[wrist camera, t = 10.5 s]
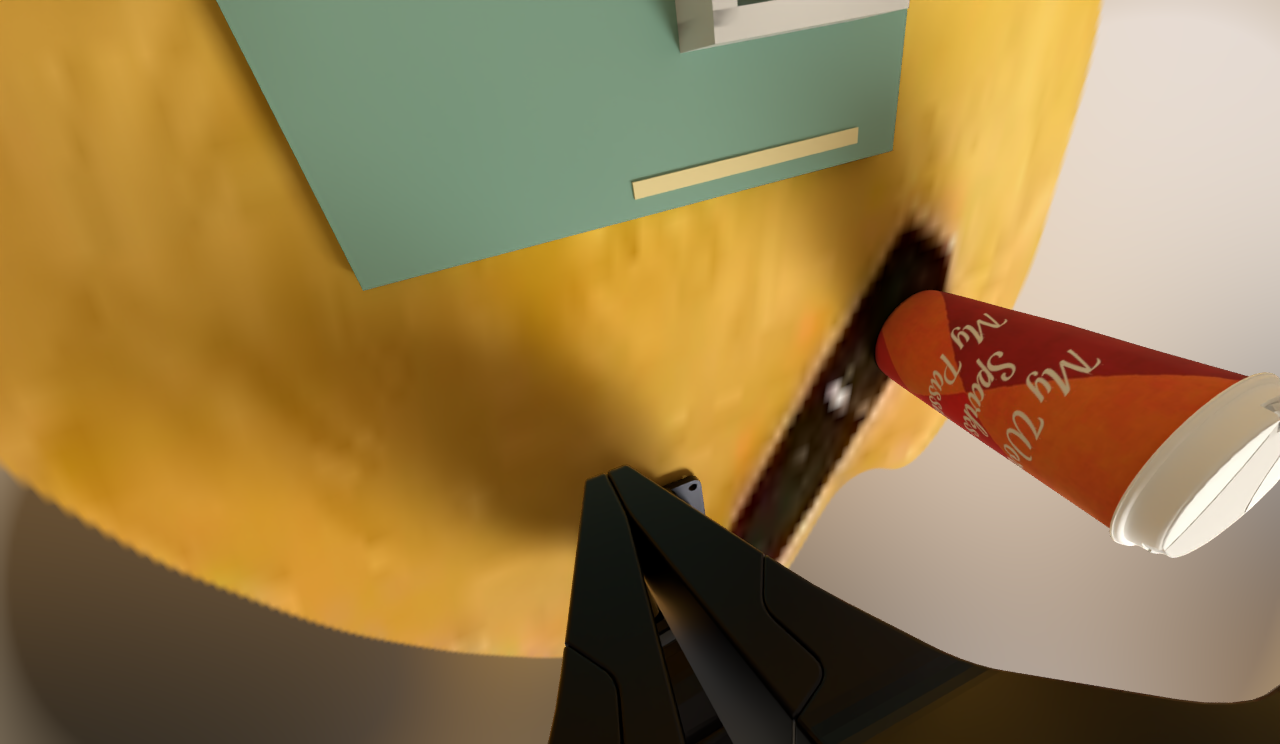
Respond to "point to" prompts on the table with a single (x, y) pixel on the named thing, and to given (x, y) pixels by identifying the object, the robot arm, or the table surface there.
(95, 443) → the table surface
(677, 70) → the board
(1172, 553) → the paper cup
